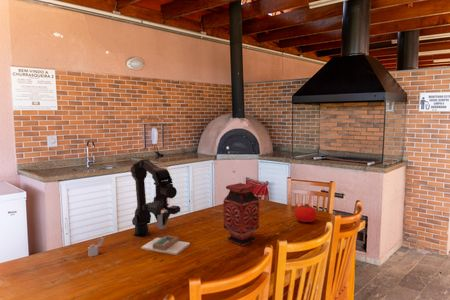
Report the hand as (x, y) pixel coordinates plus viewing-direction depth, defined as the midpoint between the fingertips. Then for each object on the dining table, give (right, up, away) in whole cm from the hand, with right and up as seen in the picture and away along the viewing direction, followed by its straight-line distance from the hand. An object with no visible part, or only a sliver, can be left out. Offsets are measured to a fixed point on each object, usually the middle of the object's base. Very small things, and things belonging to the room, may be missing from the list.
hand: (161, 224), depth 171 cm
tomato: (+82, -8, +44) cm, 94 cm away
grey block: (0, -2, 0) cm, 2 cm away
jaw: (-1, -10, +3) cm, 11 cm away
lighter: (-30, -13, -8) cm, 34 cm away
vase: (+41, -11, +11) cm, 43 cm away
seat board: (+2, -12, +2) cm, 12 cm away
